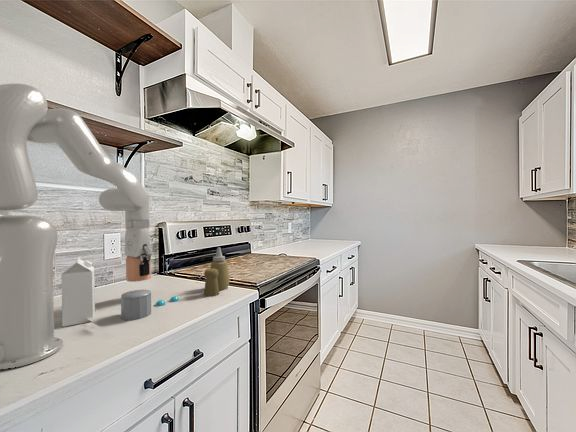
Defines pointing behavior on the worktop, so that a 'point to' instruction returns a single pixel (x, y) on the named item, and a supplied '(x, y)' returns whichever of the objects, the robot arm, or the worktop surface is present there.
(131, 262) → the terracotta cup
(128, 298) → the grey faceted cylinder
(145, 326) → the worktop surface
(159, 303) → the marble
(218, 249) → the squeeze bottle
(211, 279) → the olive pepper shaker
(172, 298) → the marble
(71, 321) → the milk carton
